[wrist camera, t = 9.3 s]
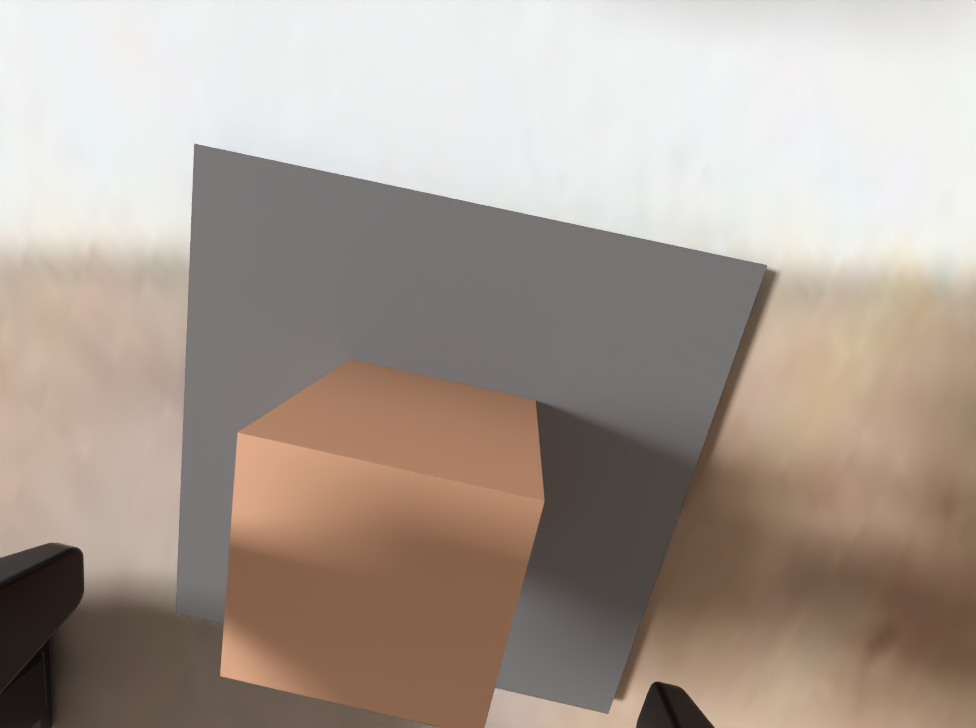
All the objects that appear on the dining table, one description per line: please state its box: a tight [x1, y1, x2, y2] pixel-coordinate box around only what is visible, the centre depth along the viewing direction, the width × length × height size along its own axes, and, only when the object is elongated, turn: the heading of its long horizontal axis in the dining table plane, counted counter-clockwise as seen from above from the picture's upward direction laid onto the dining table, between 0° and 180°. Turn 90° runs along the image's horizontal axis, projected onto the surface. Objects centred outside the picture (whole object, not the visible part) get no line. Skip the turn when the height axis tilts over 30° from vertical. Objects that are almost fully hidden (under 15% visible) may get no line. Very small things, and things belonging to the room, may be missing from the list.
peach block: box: [220, 360, 545, 728], centre depth 10 cm, size 5×5×5 cm
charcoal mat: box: [176, 144, 767, 714], centre depth 13 cm, size 14×14×1 cm
